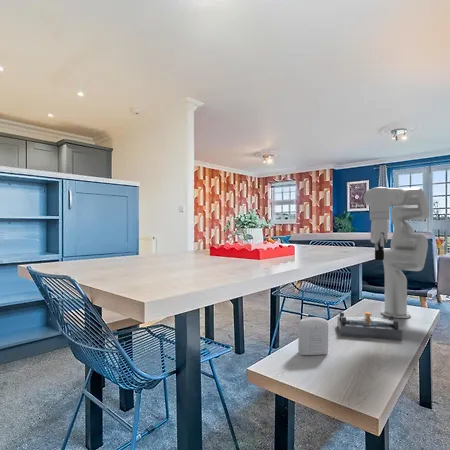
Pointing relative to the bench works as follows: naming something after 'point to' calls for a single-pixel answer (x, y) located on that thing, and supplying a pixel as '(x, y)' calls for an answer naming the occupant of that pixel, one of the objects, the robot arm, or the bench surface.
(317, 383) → the bench surface
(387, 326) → the tray
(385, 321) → the strap
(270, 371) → the bench surface
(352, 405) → the bench surface
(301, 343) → the photo printer
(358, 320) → the strap
